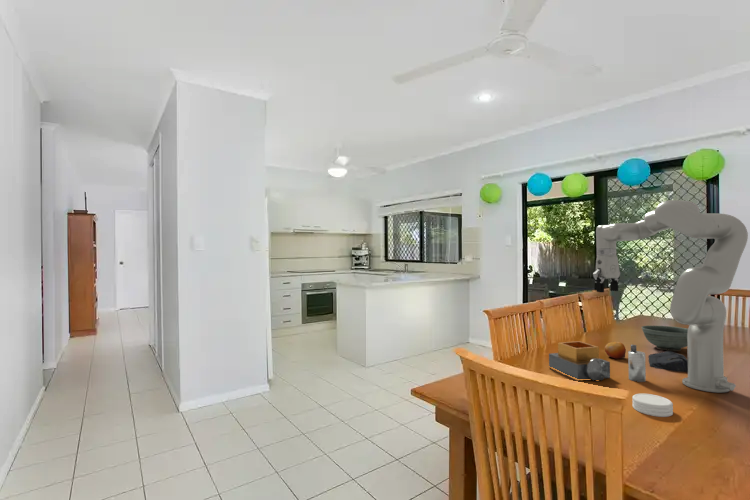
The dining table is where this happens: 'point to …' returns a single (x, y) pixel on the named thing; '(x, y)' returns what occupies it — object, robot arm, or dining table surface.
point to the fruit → (615, 350)
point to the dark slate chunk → (669, 361)
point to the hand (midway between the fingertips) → (607, 291)
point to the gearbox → (580, 361)
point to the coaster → (652, 405)
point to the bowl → (666, 337)
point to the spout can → (636, 365)
